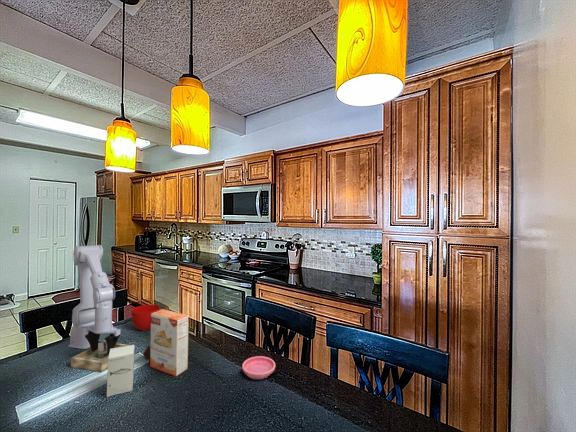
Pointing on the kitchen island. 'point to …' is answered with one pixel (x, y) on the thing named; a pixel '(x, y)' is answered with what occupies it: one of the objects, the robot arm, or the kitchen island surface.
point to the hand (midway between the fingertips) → (102, 351)
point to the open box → (91, 360)
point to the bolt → (147, 353)
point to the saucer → (258, 367)
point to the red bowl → (143, 316)
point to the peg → (102, 349)
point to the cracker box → (169, 342)
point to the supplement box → (120, 370)
